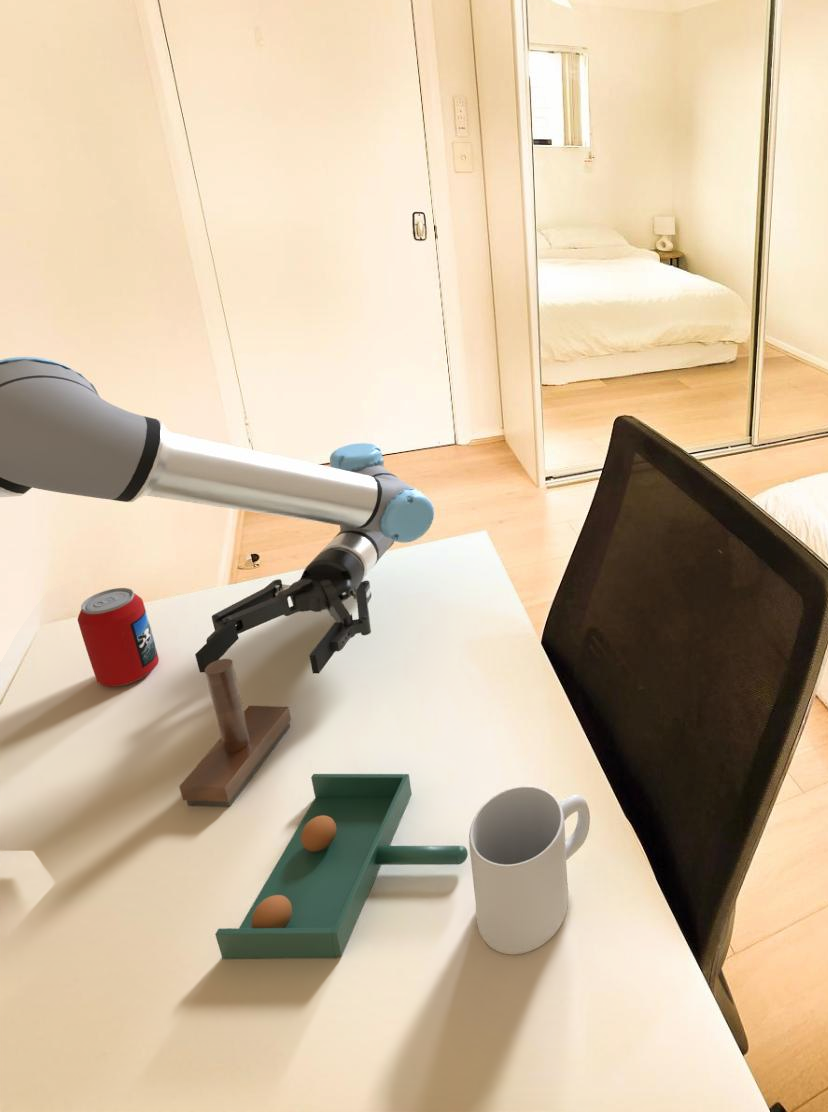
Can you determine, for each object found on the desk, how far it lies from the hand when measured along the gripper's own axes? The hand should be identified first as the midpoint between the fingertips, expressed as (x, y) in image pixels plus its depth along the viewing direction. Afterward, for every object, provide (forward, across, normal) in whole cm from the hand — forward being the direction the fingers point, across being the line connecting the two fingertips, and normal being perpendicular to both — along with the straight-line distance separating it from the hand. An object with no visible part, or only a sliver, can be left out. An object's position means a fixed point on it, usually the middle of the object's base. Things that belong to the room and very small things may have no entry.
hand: (257, 664), depth 84 cm
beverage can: (-9, +24, -9) cm, 27 cm away
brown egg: (+25, -14, -7) cm, 30 cm away
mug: (+22, -38, -9) cm, 45 cm away
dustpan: (+19, -21, -9) cm, 29 cm away
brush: (+6, 0, -9) cm, 11 cm away
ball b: (+17, -14, -7) cm, 23 cm away
